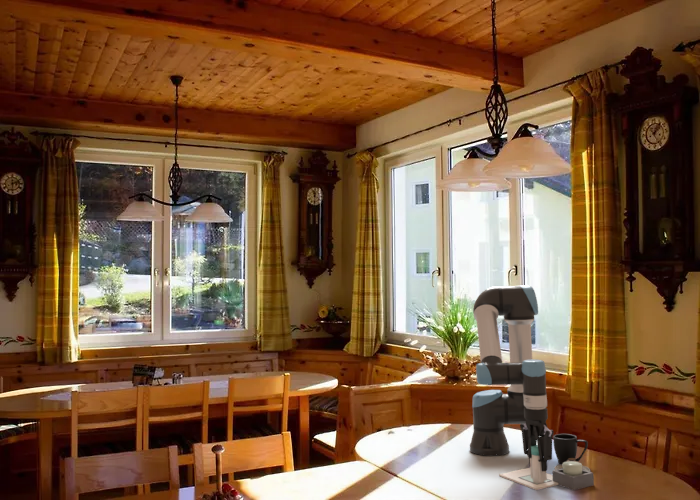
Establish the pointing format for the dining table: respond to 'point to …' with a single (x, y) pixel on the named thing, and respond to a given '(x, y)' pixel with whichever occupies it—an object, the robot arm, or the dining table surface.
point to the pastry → (573, 461)
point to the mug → (567, 447)
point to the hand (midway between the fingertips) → (538, 478)
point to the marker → (535, 463)
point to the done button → (572, 468)
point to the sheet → (528, 479)
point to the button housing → (573, 479)
